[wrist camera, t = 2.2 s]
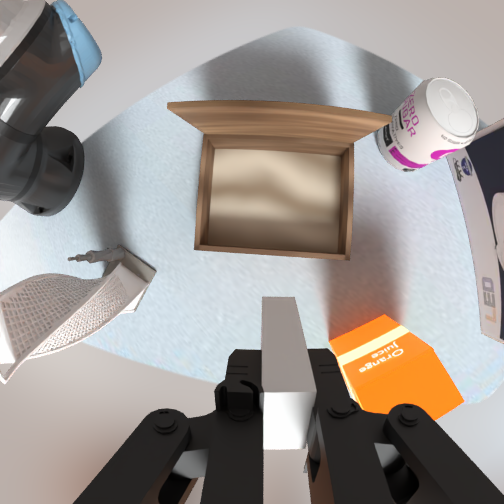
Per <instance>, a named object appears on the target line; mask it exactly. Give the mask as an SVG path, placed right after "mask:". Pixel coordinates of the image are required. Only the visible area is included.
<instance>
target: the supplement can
mask: <svg viewBox="0 0 504 504" xmlns="http://www.w3.org/2000/svg"><path fill="white" fill-rule="evenodd" d="M391 116H392V122H391V123H389V124H387V125H385V126H383V127H381V128H380V129H379V132H378V134H377V137H378V146H379V149H380V152H381V154H382V155H383V157H384V158H385V160H386V161H387V162H388V163H389V164H390V165H392V166H393V167H394V168H395V169H398V170H401V171H404V172H413V171H415V170H417V169H420V168H422V167H424V166H426V165H428V164H430V163H432V162H434V161H436V160H438V159H440V158H442V157H444V156H447V155H449V154H451V153H453V152H455V151H457V150H459V149H461V148H463V147H465V146H467V145H469V144H470V143H471V141H472V140H473V138H474V137H475V133H476V132H477V130H478V126H479V116H478V110H477V108H476V106H475V103H474V101H473V100H472V98H471V97H470V95H469V94H468V93H467V91H466V90H465V89H463V87H461V86H460V85H459V84H458V83H456V82H454V81H452V80H450V79H448V78H441V77H440V78H431V79H428V80H424V81H422V83H421V84H420V85H419V86H418V87H417V88H416V89H415V90H414V91H413V92H412V93H411V94H410V95H409V96H408V97H407V99H406V100H405V101H404V102H403V103H402V104H401V105H400V106H399V107H398V108H397V109H396V110H395V111H394V112H393V113H392V115H391Z"/></svg>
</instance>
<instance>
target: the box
mask: <svg viewBox="0 0 504 504" xmlns="http://www.w3.org/2000/svg"><path fill="white" fill-rule="evenodd" d="M353 194H354V143H346V142H338V141H329V140H319V139H309V138H297V137H283V136H265V135H235V134H204V136H203V145H202V155H201V165H200V176H199V187H198V199H197V212H196V227H195V243H194V250H201V251H216V252H230V253H245V254H260V255H274V256H289V257H304V258H319V259H334V260H349V261H350V253H351V238H352V220H353Z"/></svg>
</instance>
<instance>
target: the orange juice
mask: <svg viewBox="0 0 504 504" xmlns="http://www.w3.org/2000/svg"><path fill="white" fill-rule="evenodd" d="M329 343H330V345H331V348H332V350H333V352H334V355H335V356H336V359H337V362H338V365H339V367H340V370H341V372H342V375H343V378H344V380H345V383H346V385H347V387H348V389H349V391H350V393H351V395H352V397H353V399H354V400H355V401H356V402H358V403H359V405H360V406H361V408H362V409H363V410H365V411H368V412H373V413H383V414H388V413H389V411H390V410H391V408H392V407H394V406H396V405H398V404H403V403H409V404H414V405H417V406H420V407H421V408H422V409H424V410H425V411H426V412H427V413H428V414H429V415H430V416H431V417H432V419H433V420H434V421H435V420H437V419H438V418H440V417H441V416H443V415H445V414H446V413H448V412H449V411H451V410H452V409H454V408H455V407H457V406H458V405H460V404H461V403H463V402H464V400H463V398H462V396H461V394H460V393H459V391H458V389H457V388H456V386H455V384H454V383H453V381H452V379H451V378H450V376H449V374H448V373H447V371H446V370H445V368H444V366H443V365H442V363H441V362H440V360H439V358H438V357H437V355H436V354H435V352H434V349H433V348H432V347H430V346H429V345H428V344H426V343H425V342H423V341H422V340H421V339H419V338H418V337H416V336H415V335H414V334H412V333H411V332H410V331H409V330H407V329H406V328H404V327H403V326H402V325H399V324H398V323H396V322H395V321H394V320H392V319H391V318H389V317H388V316H386V315H385V314H384V315H382V316H380V317H378V318H376V319H374V320H372V321H370V322H368V323H366V324H364V325H362V326H360V327H358V328H356V329H354V330H352V331H350V332H348V333H346V334H344V335H341V336H339V337H337V338H335V339H333V340H331V341H329Z"/></svg>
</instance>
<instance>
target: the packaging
mask: <svg viewBox="0 0 504 504" xmlns="http://www.w3.org/2000/svg"><path fill="white" fill-rule="evenodd" d="M446 157H447V160H448V163H449V166H450V169H451V172H452V175H453V178H454V182H455V185H456V188H457V192H458V195H459V199H460V202H461V206H462V210H463V214H464V218H465V222H466V227H467V231H468V236H469V240H470V245H471V251H472V256H473V262H474V268H475V275H476V282H477V290H478V299H479V310H480V323H481V333H482V334H484V335H486V336H488V337H490V338H492V339H494V340H496V341H498V342H500V343H502V344H504V118H503V119H501V120H499V121H497V122H496V123H494V124H492V125H490V126H488V127H486V128H484V129H482V130H480V131H478V132H476V133H475V137H474V138H473V140H472V141H471V143H470V144H469V145H467V146H465V147H463V148H461V149H459V150H457V151H455V152H453V153H451V154H449V155H447V156H446Z"/></svg>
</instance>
